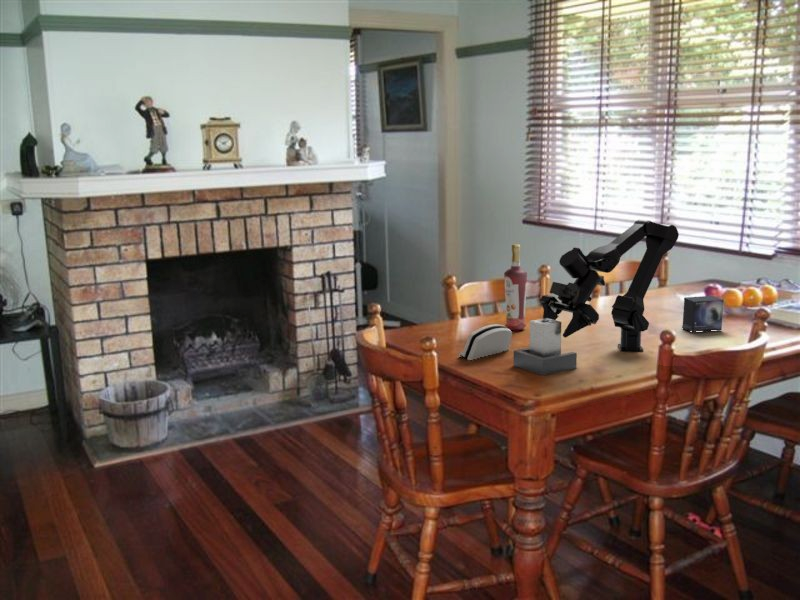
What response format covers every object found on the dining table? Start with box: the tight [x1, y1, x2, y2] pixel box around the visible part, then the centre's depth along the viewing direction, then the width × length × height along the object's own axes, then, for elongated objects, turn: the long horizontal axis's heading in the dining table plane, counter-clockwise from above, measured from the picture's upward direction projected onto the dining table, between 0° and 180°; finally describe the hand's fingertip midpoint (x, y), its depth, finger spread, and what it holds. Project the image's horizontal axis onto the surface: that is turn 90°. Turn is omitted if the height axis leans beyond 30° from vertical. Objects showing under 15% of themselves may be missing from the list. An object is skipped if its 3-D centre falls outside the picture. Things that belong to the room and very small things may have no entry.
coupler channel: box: [513, 346, 578, 376], centre depth 220 cm, size 12×12×4 cm
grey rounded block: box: [458, 323, 513, 361], centre depth 234 cm, size 17×5×10 cm, turn 131°
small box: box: [681, 295, 724, 332], centre depth 256 cm, size 11×6×10 cm, turn 102°
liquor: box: [503, 243, 528, 332], centre depth 262 cm, size 7×7×28 cm
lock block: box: [529, 318, 562, 358], centre depth 219 cm, size 6×6×12 cm
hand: (552, 333), depth 220 cm, fingers open, 9 cm apart
